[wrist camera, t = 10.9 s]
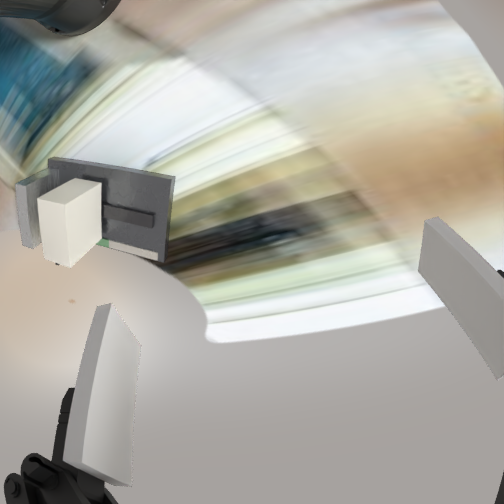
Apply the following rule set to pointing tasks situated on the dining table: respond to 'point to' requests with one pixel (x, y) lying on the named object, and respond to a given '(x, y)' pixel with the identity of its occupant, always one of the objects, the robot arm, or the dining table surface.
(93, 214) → the block
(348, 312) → the dining table surface
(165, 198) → the frame
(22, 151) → the dining table surface
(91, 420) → the robot arm
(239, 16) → the dining table surface
